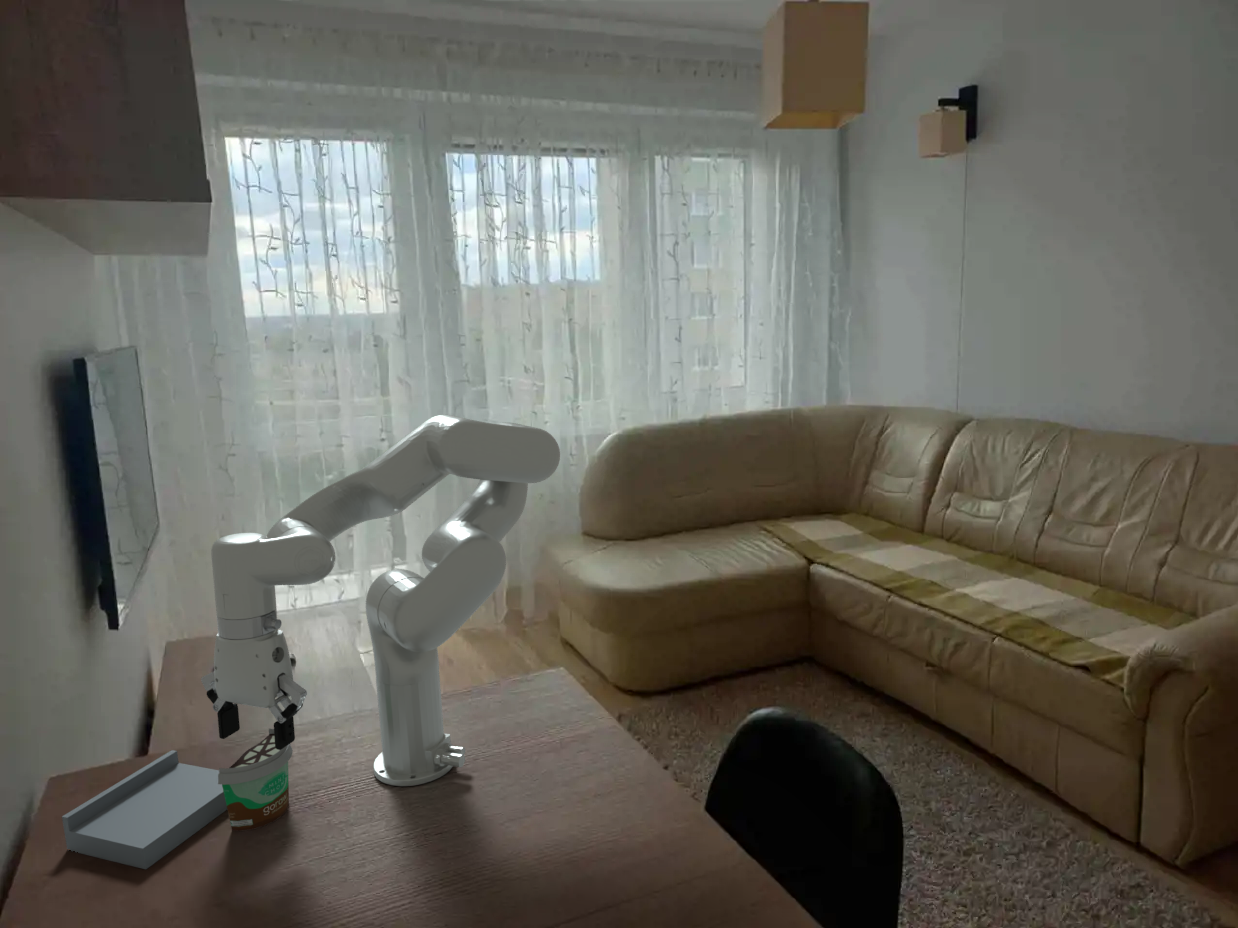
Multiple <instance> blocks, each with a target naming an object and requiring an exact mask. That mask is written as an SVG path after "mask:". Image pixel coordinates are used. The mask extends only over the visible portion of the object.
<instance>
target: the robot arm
mask: <svg viewBox="0 0 1238 928" xmlns="http://www.w3.org/2000/svg"><path fill="white" fill-rule="evenodd" d="M560 450H561V449H560V446H559V444H558V441H557V440H556V439H555V438H554V436H553V435H552V434H551V433H549V432H548V431H547V430H545V429H542V428H539V427H534V426H529V425H525V424H520V423H514V422H499V423H492V422H485V421H480V420H479V421H478V420H474V419H471V418H470V419H469V418H465V417H460V416H456V415H451V414H438V415H435V416H432V417H430V418H428V419H427V420H425V421H424V422H422V423H421V424H420V425H419V426H417V427H416V428H414V429H413V430H412V431H410V432H409V433H408V434H407V435H405V436H404V437H402V438H401V439H400V440H398V441H397V442H396V443H395V444H393V445H392V446H391V447H389V448H388V449H387V450H385V451H384V452H382V453H381V454H380V455H379V456H377V457H376V458H374V459H373V460H372V461H370V462H369V463H367V464H366V465H365V466H364V467H362V468H360V469H359V470H356V471H355V472H352V473H350V474H348V475H346V476H345V477H343V478H341V479H340V480H337V481H335V482H333V483H332V484H330V485H328V486H326V487H324V488H322V489H320V490H318V491H317V492H314V494H312V495H311V496H309V497H308V498H307V499H305V500H303V502H301V503H299V504H297V506H296V507H293V509H291V510H290V511H289V512H288V513H286V514H285V515H283V517H281V518H280V519H278V521H277V522H275V524H273V526H272V527H271V528H270V529H269V530H268V533H267V535H265V534H262V533H257V532H240V533H239V532H238V533H232V534H229V535H228V534H227V535H225V536H224V535H223V536H222V537H219V538H218V539H216V540H215V541H214V542H213V544H212V546H211V548H210V549H211V565H212V576H213V578H212V579H213V589H214V598H215V599H214V600H215V608H216V609H215V610H216V611H215V613H216V623H217V634H216V635H215V642H214V654H213V655H214V656H213V662H214V663H213V667H214V668H213V669H214V670H213V671H212V672H210V673H207V674H206V675H205V674H204V675H203V676H201V678H200V680H201V684H202V685H203V688H204V690H205V691H206V697H207V698H208V699H209V701H211V703H212V709H213V711H214V712H217V724H218V736H219V739H223V740H225V739H227V738H228V737H229V736H232V735H233V734H235V733H236V732H238V731H239V730H240V729H241V728H240V716H239V715H240V714H239V706H238V705H243V706H249V707H256V708H262V709H268V710H269V711H270V713H271V714H272V716H273V717H274V718H275V720H276V721H275V722H274V723H273V729H274V737H275V748H276V749H278V750H281V749H283V748H284V747H286V746H287V745H289V744H292V743H293V742H294V741H295V738H296V736H295V721H294V716H296V715H297V714H298V712H299V711H300V710H301V709H302V708H303V707H304V706H303V705H304V703H305V699H306V698H307V695H308V691H307V690H306V689H305V688H304V687H302V686H301V685H300V684H298V683H297V682H295V681H294V674H293V667H292V661H291V655H290V652H289V651H290V650H289V646H288V643H287V641H286V637H285V634H284V631H283V630H281V629H280V628H281V626H282V620H281V619H279V618H278V612H277V599H276V597H277V596H276V586H306V585H312V584H315V583H318V582H320V581H322V580H323V579H325V578H326V577H328V575H330V574H331V572H332V571H333V570H334V566H335V563H336V551H335V548H334V546H333V544H332V543H331V541H332V540H334V539H335V538H336V537H338V536H339V535H341V534H342V533H344V532H345V531H347V530H348V529H351V528H352V527H354V526H358V525H359V524H362V523H364V522H368V521H372V520H376V519H385V518H388V517H392V516H395V515H398V514H400V513H403V511H404V510H406V509H407V508H408V507H409V506H411V505H412V504H413V503H415V502H416V501H417V500H418V499H419V498H421V497H422V496H424V494H426V493H427V492H428V491H430V490H431V489H433V487H435V486H436V485H437V484H438V483H440V482H441V481H442V480H444V479H445V478H446V477H447V476H449V475H453V476H456V477H460V478H465V479H466V478H467V479H471V480H472V479H474V480H479V481H478V482H477V484H476V486H475V489H474V490H473V491H472V492H471V493H470V494H469V496H468V497H467V498H466V499H465V500H463V502H462V503H461V504H460V505H459V506H458V507H457V508H456V509H455V510H454V511H452V513H451V514H450V515H449V516H448V517H447V518H445V520H444V521H443V522H441V523H440V525H438V527H437V528H435V529H434V530H433V531H432V533H430V535H429V536H428V537H427V538H426V539H425V541H424V543H423V546H422V548H421V549H422V550H421V559H422V561H423V564H424V567H426V569H427V570H428V574H427V575H426V576H425V577H423V576H421V575H420V574H418V573H417V572H414V571H411V570H407V569H404V568H396V569H391V570H388V571H386V572H383V573H382V574H380V575H379V576H377V578H375V579H374V581H373V582H372V583H371V585H370V586H369V588H368V591H367V593H366V599H365V614H366V620H367V621H366V622H367V624H368V625H367V626H368V630H369V635H370V640H371V645H372V652H373V659H374V661H373V662H374V669H375V670H374V671H375V684H376V694H377V695H376V696H377V707H378V708H377V709H378V717H379V728H380V729H379V730H380V738H381V749H382V750H381V751H382V752H380V753H379V754H378V755H377V757H376V758H375V759H374V761H373V764H372V767H373V774H374V776H375V778H376V779H377V780H379V781H380V783H384V784H386V785H389V786H393V787H394V786H395V787H410V786H411V787H413V786H418V785H423V784H427V783H430V782H433V781H435V780H437V779H439V778H441V777H443V776H444V775H446V774H447V773H448V772H450V770H451V769H452V768H453V767H457V768H463V766H464V765H465V762H466V761H465V760H466V755H465V754H466V747H465V746H459V745H456V746H455V745H453V744H452V742H451V734H450V733H445V732H444V717H443V704H442V692H441V691H442V690H441V689H442V688H441V679H440V660H439V652H438V647H441V646H442V645H443V644H444V643H445V642H446V641H448V640H449V639H450V638H452V636H453V635H454V634H456V632H457V631H458V630H460V628H461V627H462V626H463V625H464V624H465V623H466V622H467V621H468V620H469V619H470V618H471V617H472V616H473V615H474V613H475V612H476V611H478V610H479V608H480V607H481V606H483V604H484V603H486V601H487V600H488V599H489V597H491V595H492V594H494V593H495V591H496V590H497V589H498V587H499V585H500V583H501V581H502V579H503V577H504V575H505V572H506V567H507V557H506V551H505V549H504V547H503V545H502V544H501V541H503V539H504V538H505V536H507V534H508V533H509V532H510V531H511V530H512V529H513V528H514V526H515V525H516V524H517V522H518V521H519V520H520V518H521V516H522V514H523V513H524V509H525V506H526V501H527V497H528V487H529V484H537V483H541V482H543V481H546V480H548V478H550V477H551V476H552V475H553V474H554V473H555V472H556V471H557V469H558V466H559V464H560V460H561V451H560ZM279 704H281V705H282V707H283V708H284V710H282V708H281V706H279Z"/></svg>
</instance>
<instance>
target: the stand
mask: <svg viewBox="0 0 1238 928" xmlns="http://www.w3.org/2000/svg"><path fill="white" fill-rule="evenodd" d="M178 755H179V754H178V750H173V749H172V750H170V751H168V752H166V753H164V754H162V755H161V756H160V757H158V758H157V759H155V760H153V761H152V762H150V763H148V764H147V765H145V766H143V767H141V768H140V769H138V770H136V771H135V772H133V773H132V774H130V775H128V776H126V777H125V778H123V779H122V780H119V782H117V783H115V784H114V785H111V786H110V787H108V788H107V789H105V790H103V791H102V792H100V793H98V794H97V795H95V796H94V797H92V798H90V799H89V800H87V801H85V802H84V803H82V804H80V805H78V806H77V807H76V808H73V809H72V810H70V811H69V812H67V813H65V814H63V815H62V816H61V821H62V825H63V831H64V838H65V844H66V849H70V850H71V851H70V852H73V851H75V852H74V853H77V852H78V853H77V854H82V855H85V856H90V857H94V858H98V859H101V860H106V861H110V862H113V863H118V864H122V865H125V866H131V867H134V868H139V869H143V870H148V869H149V868H150V867H151V866H153V865H154V864H155V863H157V862H158V861H159V860H161V859H163V857H165V856H166V855H168V854H169V853H170V852H172V851H173V850H175V848H177V847H178V846H180V845H181V844H182V843H184V842H185V841H186V840H188V839H190V837H192V836H193V835H195V834H196V833H198V832H199V831H200V830H201V829H203V828H204V827H205V826H208V824H209V823H211V822H212V821H214V820H215V819H216V818H218V817H219V816H220V815H222V814H223V813H225V812H226V811H228V810H227V805H226V801H225V796H224V792H223V787H222V784H218V774H219V769H215V768H207V767H203V766H198V765H191V764H187V763H181V762H179V756H178Z"/></svg>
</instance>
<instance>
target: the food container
mask: <svg viewBox="0 0 1238 928" xmlns="http://www.w3.org/2000/svg"><path fill="white" fill-rule="evenodd" d="M291 744H292V743H290V744H289V745H287V746H286V747H284V748H283V749H281V750H278V749H276V748H275V737H274V728H268V735H267V736H265V738H263V740H261V741H260V742H259V743H257V744H255V745H254V746H251V747H250V748H248V749H247V750H245V752H244V753H243V754H241V756H240V757H239V758H237V760H236V761H235V762H234V763H233V764H232V765H230V766H229V767H228V768H225V767H224V768H222V767H221V768H220V767H219V768H218V770H219V774H218V784H222V787H223V792H224V796H225V801H226V805H227V810H226V811H227V814H228V819H229V822H230V823H229V824H230V829H231V832H242V831H243V832H245V831H252V830H256V829H259V828H262V827H266V826H267V825H269V824H271V823H274V822H276V821H277V820H279V819H280V818H282V816H283V815H285V814H286V812H287V810H288V809H289V807H290V802H289V801H290V796H289V795H290V794H289V791H290V790H289V789H290V785H289V761H290V759H291V758H292V757H293V751H294V750H293V747H292V745H291Z"/></svg>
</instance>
